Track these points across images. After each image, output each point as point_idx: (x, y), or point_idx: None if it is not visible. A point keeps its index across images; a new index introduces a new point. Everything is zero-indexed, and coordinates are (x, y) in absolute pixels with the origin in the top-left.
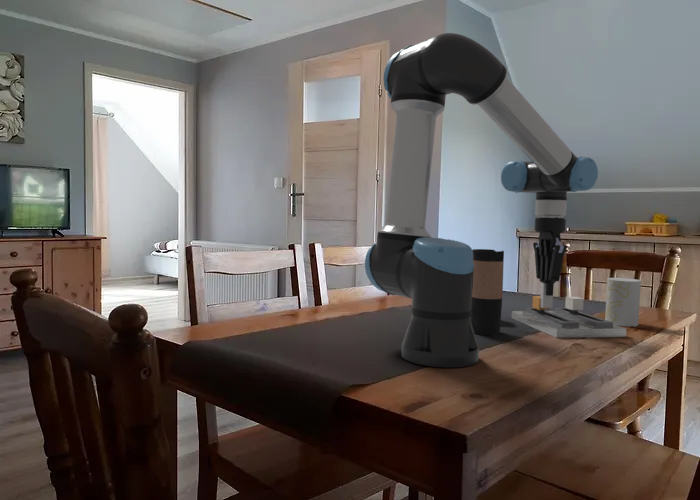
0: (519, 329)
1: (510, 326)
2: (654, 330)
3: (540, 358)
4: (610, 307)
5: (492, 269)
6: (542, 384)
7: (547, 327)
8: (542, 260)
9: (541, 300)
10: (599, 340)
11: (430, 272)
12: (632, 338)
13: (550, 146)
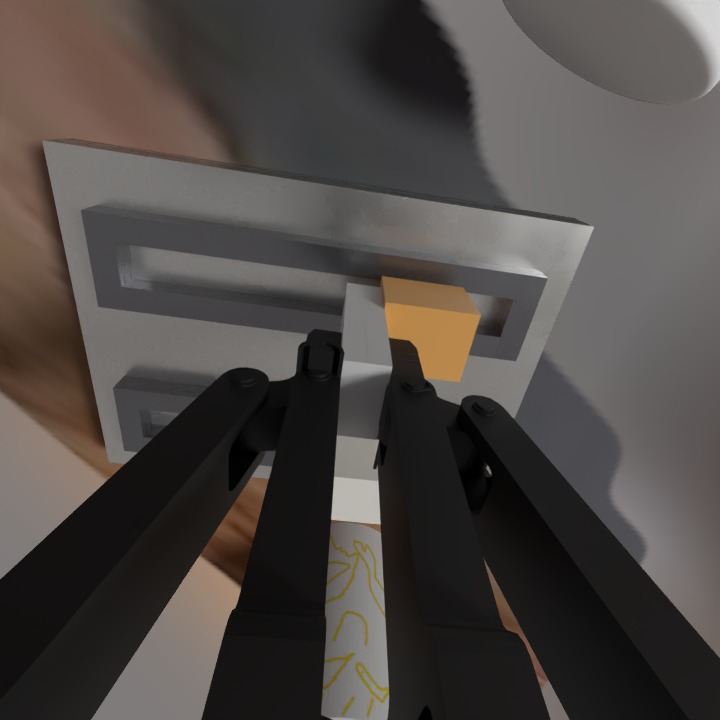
0: (289, 51)
1: (379, 47)
2: (231, 568)
3: None
4: (338, 578)
5: None
6: None
7: (155, 156)
8: (421, 553)
9: (368, 302)
10: (46, 311)
11: None
12: (103, 445)
13: None
